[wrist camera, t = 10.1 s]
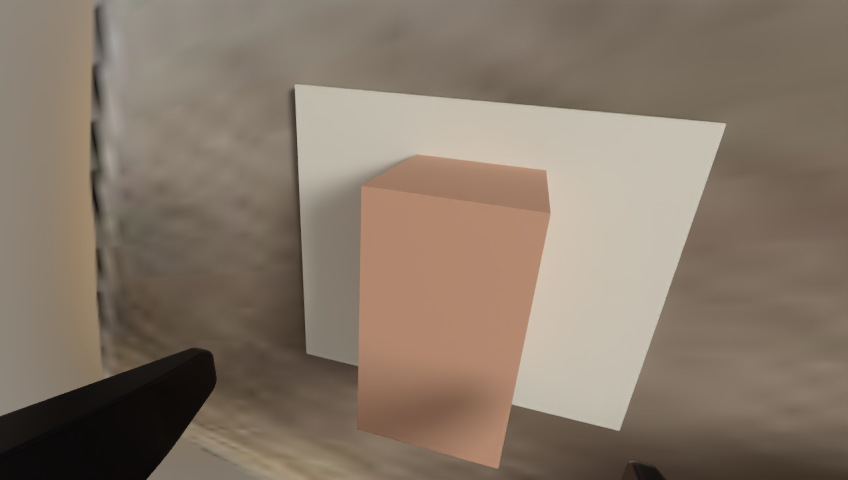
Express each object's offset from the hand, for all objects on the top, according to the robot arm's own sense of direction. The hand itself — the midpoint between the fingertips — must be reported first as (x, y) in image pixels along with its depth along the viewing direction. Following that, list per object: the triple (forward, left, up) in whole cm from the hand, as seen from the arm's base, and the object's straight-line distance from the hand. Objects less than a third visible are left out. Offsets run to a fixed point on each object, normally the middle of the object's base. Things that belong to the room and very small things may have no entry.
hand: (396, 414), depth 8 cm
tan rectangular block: (0, 0, -8) cm, 8 cm away
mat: (0, 0, -8) cm, 8 cm away
